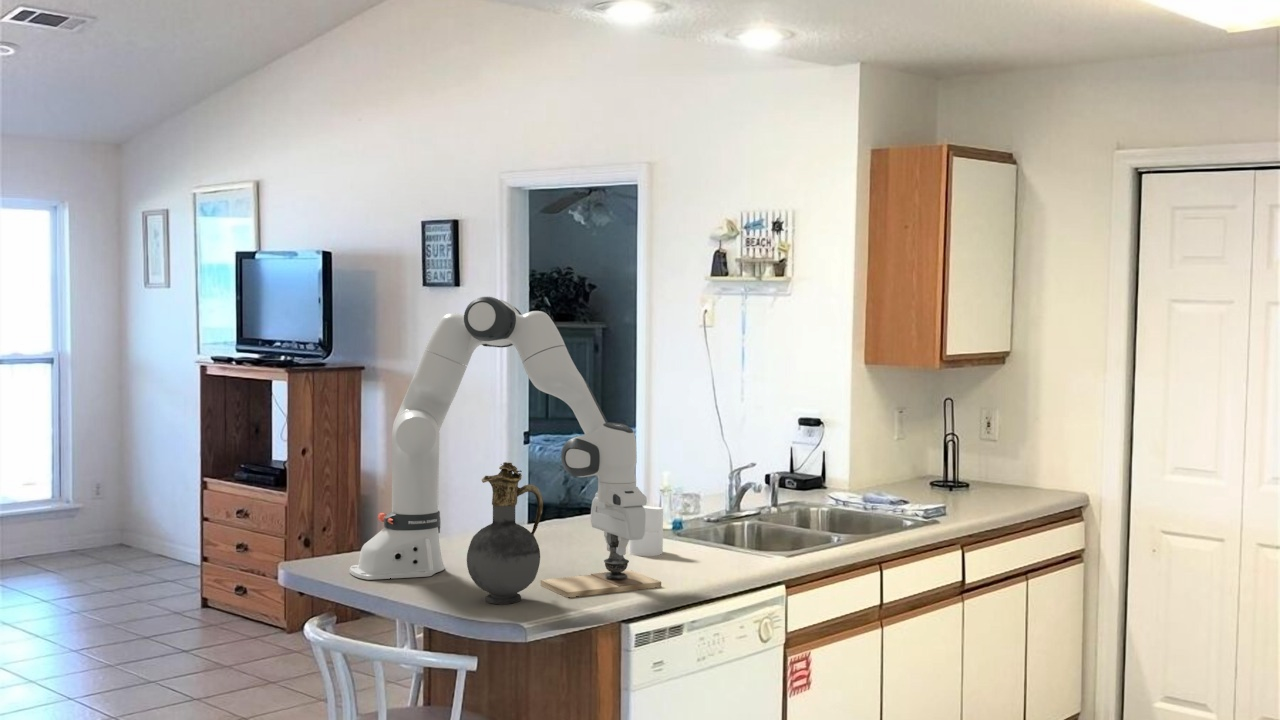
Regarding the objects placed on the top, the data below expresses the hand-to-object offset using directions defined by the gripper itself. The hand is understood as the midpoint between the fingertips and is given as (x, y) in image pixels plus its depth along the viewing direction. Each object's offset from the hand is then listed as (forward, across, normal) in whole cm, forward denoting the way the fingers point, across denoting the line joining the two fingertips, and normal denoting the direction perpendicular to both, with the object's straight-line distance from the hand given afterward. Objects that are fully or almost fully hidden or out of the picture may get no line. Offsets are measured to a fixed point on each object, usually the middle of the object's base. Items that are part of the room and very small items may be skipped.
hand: (616, 553), depth 287 cm
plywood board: (+7, 0, -4) cm, 8 cm away
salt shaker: (+6, 0, 0) cm, 6 cm away
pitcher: (+8, +3, -28) cm, 29 cm away
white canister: (+8, -30, +25) cm, 40 cm away
